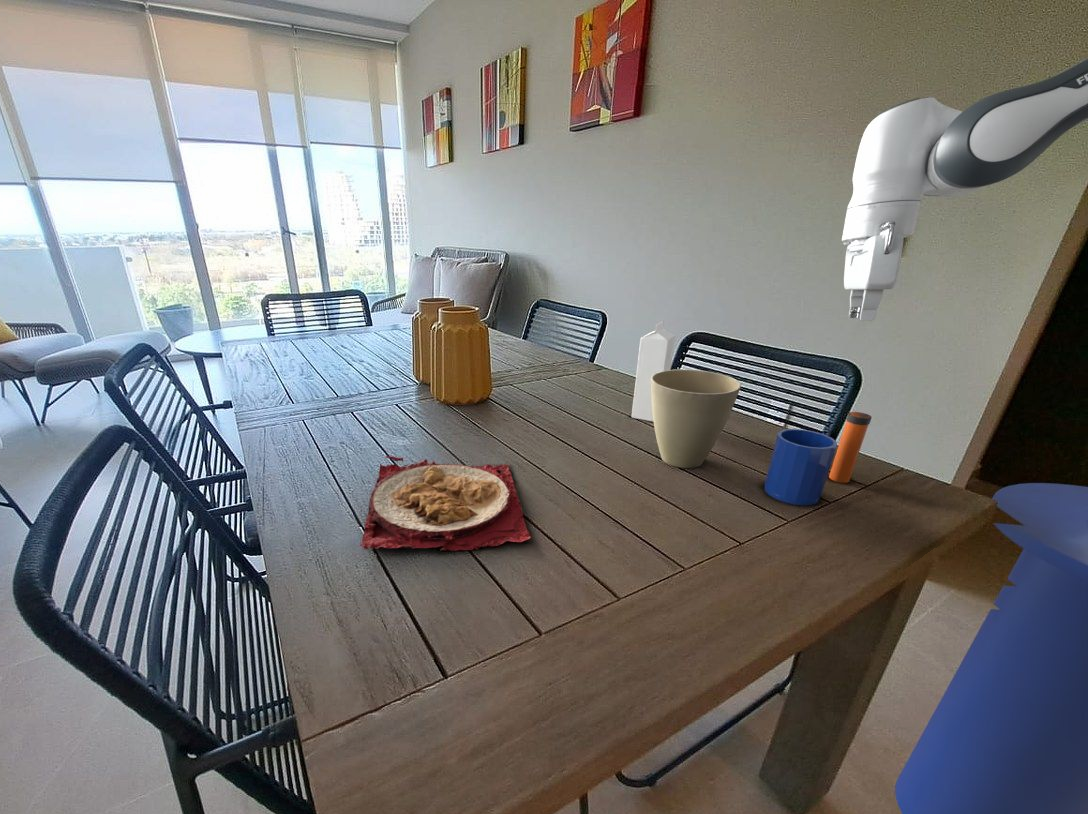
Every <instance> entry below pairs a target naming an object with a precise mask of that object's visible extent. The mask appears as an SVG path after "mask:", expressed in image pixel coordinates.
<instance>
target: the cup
mask: <svg viewBox="0 0 1088 814" xmlns="http://www.w3.org/2000/svg"><path fill="white" fill-rule="evenodd" d="M837 448H838V442H837V441H836V440H835V439H834V438H833V437H831V436H828V435H827V434H824V433H821V432H817V431H813V430H808V429H801V428H786V429H782V430H779V431H778V432H777V435H776V438H775V443H774V447H773V450H772V455H771V458H770V462H769V466H768V469H767V474H766V477H765V482H764V486H763V489H764V491H765V493H766V494H768V495H769V496H770V497H772V498H773V499H776V500H778V501H780V502H782V503H786V504H791V505H795V506H813V505H815V504H817V503H819V501H820V499H821V497H822V494H823V491H824V487H825V485H826V482H827V479H828V476H829V475H828V474H829V473H830V472H829V471H830V470H831V469H830V468H831V467H832V464H833V461H834V457H835V456H834V455H835V454H836V451H837V450H836V449H837Z"/></svg>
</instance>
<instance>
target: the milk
mask: <svg viewBox="0 0 1088 814" xmlns="http://www.w3.org/2000/svg"><path fill="white" fill-rule="evenodd" d="M664 324H665V320H661V321H660V322H658V323H656V324H655V329H654V330H653V331H651V332H649V333H647V334H645V335H643V336H642V337H640V341H639V350H638V359H637V367H636V374H635V375H636V376H635V385H634V392H633V393H634V394H633V400H632V408H631V418H632V419H638V420H642V421H648V422H653V423H654V421H653V413H652V399H651V377H652V375H654V374H655V373H658V372H661V371H667V370H671V368H672V367H671V366H672V361H673V353H674V348H675V340H676V335H674V334H673V333H672V332H670V331H669V330H668V329H666V328H665V327H664Z"/></svg>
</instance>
